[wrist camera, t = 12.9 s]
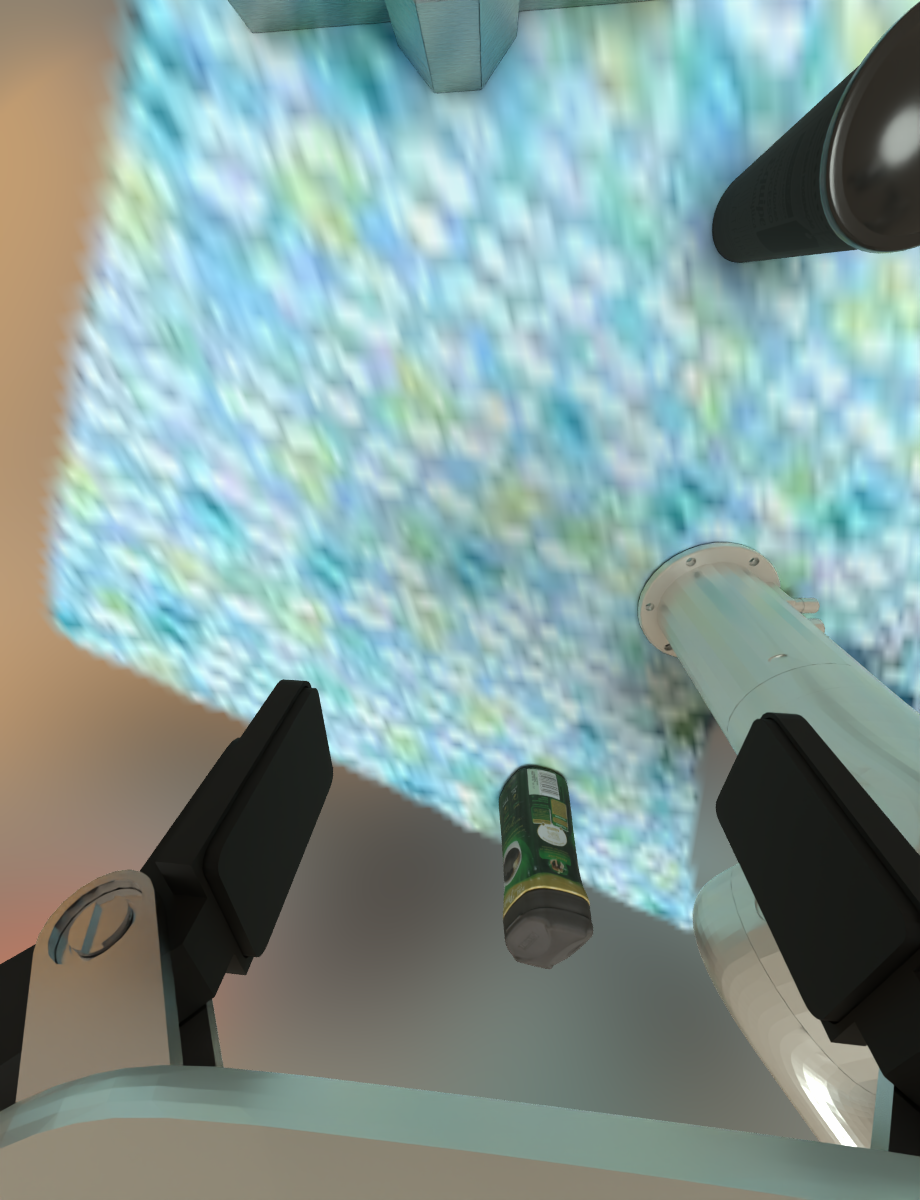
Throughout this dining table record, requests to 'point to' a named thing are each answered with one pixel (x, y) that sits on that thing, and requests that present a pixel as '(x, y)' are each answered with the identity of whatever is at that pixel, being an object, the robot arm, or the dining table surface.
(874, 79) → the drinking cup
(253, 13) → the hinge
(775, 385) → the dining table surface
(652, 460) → the dining table surface
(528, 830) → the coffee jar
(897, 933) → the robot arm
